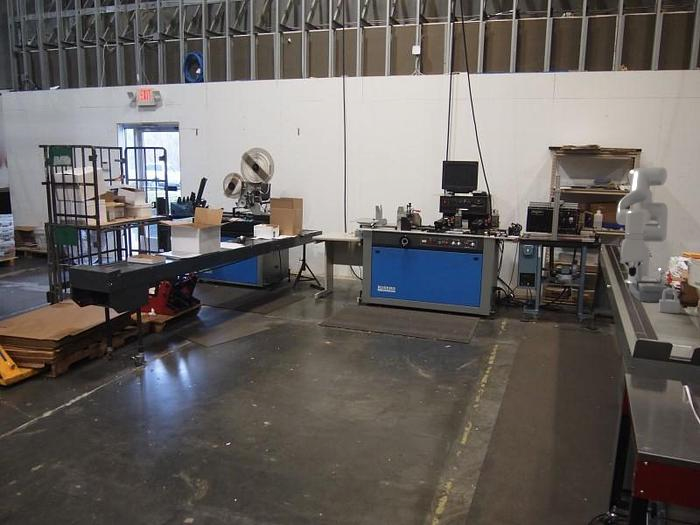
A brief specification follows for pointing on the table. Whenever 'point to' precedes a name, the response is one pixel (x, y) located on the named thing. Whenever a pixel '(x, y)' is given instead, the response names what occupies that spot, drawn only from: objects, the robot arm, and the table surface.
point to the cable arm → (659, 271)
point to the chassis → (648, 290)
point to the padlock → (669, 303)
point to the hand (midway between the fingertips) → (632, 275)
